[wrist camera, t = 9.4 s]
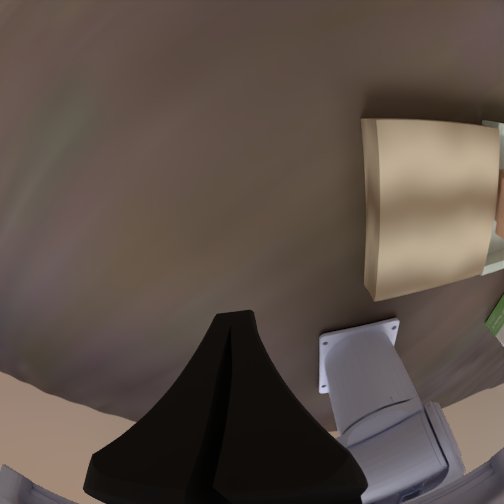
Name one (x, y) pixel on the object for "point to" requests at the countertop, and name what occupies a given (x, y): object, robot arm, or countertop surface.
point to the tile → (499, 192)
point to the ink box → (497, 321)
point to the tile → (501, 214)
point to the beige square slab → (427, 202)
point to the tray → (499, 249)
